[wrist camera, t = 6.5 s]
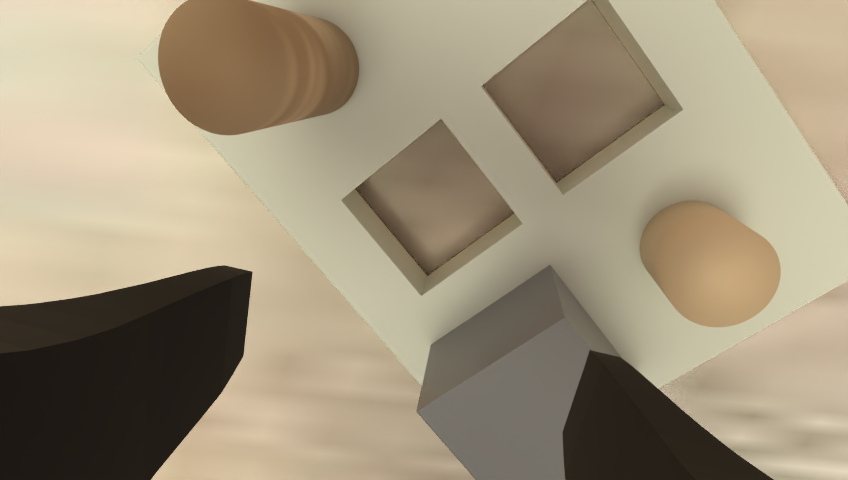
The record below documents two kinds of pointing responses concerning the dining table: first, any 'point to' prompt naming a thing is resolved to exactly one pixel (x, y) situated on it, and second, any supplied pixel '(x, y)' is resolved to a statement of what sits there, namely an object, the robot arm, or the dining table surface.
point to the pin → (253, 65)
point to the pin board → (561, 182)
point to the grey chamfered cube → (511, 381)
